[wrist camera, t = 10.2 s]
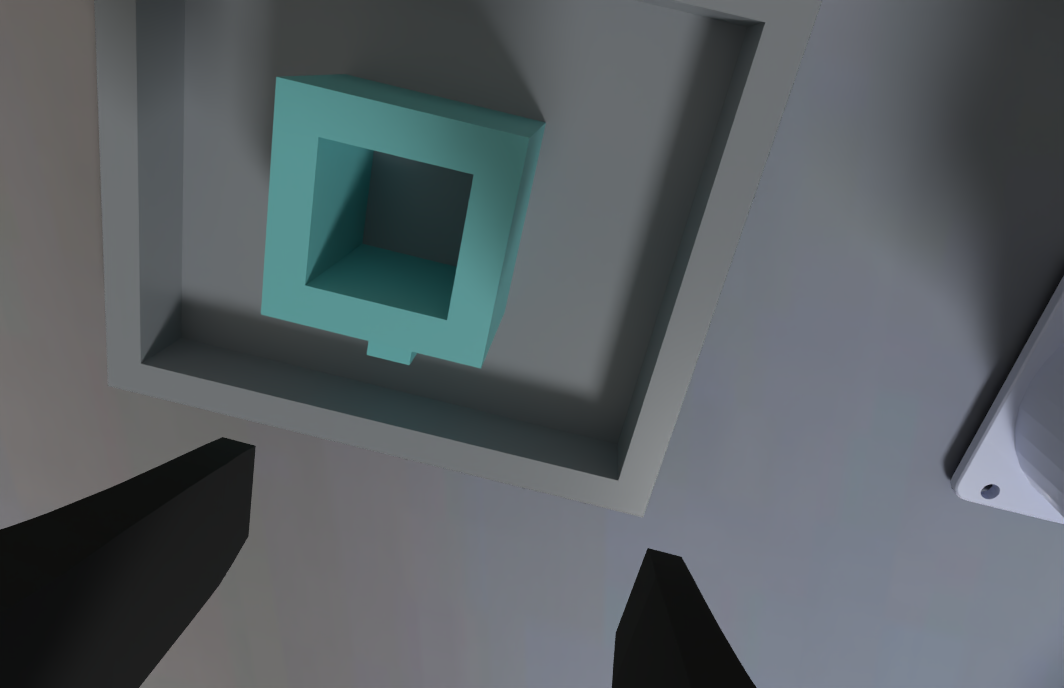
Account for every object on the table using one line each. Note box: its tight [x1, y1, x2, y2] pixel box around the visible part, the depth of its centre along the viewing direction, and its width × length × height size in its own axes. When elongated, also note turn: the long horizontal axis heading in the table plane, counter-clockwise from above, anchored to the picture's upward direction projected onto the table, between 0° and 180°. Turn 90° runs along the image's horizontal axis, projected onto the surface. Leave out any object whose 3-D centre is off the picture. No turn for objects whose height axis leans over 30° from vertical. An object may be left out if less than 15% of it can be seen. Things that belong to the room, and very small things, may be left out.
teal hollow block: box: [261, 74, 546, 368], centre depth 17 cm, size 5×7×4 cm
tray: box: [94, 0, 822, 517], centre depth 18 cm, size 16×14×2 cm
